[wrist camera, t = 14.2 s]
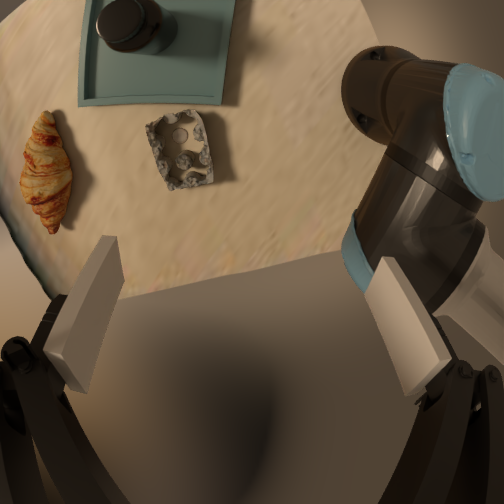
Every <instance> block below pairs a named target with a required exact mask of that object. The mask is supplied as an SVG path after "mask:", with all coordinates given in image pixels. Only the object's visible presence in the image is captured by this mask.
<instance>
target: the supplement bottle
mask: <svg viewBox="0 0 504 504" xmlns="http://www.w3.org/2000/svg"><path fill="white" fill-rule="evenodd" d="M96 31H97V33H98V35H99V36H100V38H102V39H103V40H104V41H105V43H106V45H107V46H108V47H109V48H111V49H112V50H114V51H117V52H120V53H129V54H139V55H153V54H157V53H160V52H162V51H164V50H165V49H167V48H168V47H169V46H170V45H171V44H172V43H173V41H174V40H175V38H176V35H177V32H178V24H177V21H176V19H175V17H174V16H173V15H172V14H171V13H170V12H169V11H168V10H166V9H165V8H164V7H162V6H161V5H159V4H158V3H157V2H155V1H154V0H115V1H112V2H111V3H109V4H107V6H105V7H104V8H103V9H102V10H101V12H100V14H99V15H98V18H97V21H96Z"/></svg>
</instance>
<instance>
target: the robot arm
mask: <svg viewBox="0 0 504 504" xmlns="http://www.w3.org/2000/svg"><path fill="white" fill-rule="evenodd" d="M341 95H342V101H343V105H344V108H345V111H346V113H347V115H348V117H349V119H350V121H351V122H352V123H353V125H354V126H355V127H356V128H357V129H358V130H359V131H360V132H361V133H363V134H364V135H366V136H367V137H369V138H370V139H372V140H374V141H376V142H378V143H381V144H384V145H388V147H387V149H386V151H385V153H384V155H383V157H382V160H381V162H380V164H379V166H378V168H377V170H376V172H375V174H374V176H373V178H372V180H371V182H370V184H369V186H368V188H367V190H366V192H365V194H364V196H363V198H362V200H361V202H360V204H359V206H358V208H357V209H355V210H354V212H353V214H352V217H351V222H350V225H349V227H348V229H347V231H346V233H345V235H344V237H343V240H342V246H341V252H342V256H343V259H344V262H345V263H344V264H345V266H346V269H347V271H348V273H349V275H350V276H351V278H352V279H353V281H354V282H355V283H356V285H357V286H358V287H359V288H360V290H361V291H362V292H363V293H364V296H365V298H366V300H367V302H368V305H369V307H370V309H371V312H372V314H373V316H374V318H375V320H376V323H377V325H378V328H379V330H380V332H381V335H382V337H383V340H384V342H385V344H386V347H387V349H388V352H389V354H390V357H391V360H392V362H393V365H394V367H395V369H396V372H397V375H398V378H399V381H400V383H401V386H402V389H403V391H404V394H405V396H409V395H413V394H417V393H419V392H420V391H421V389H423V388H424V387H426V390H427V392H426V393H424V394H423V395H422V396H421V397H420V398H419V399H418V400H417V401H416V402H415V405H417V404H418V403H419V402H420V401H421V400H422V401H421V404H420V405H419V410H418V413H417V417H416V419H415V422H414V425H413V428H412V431H411V433H410V436H409V438H408V441H407V443H406V446H405V448H404V451H403V453H402V455H401V458H400V460H399V462H398V465H397V467H396V469H395V471H394V473H393V475H392V477H391V479H390V481H389V483H388V485H387V487H386V489H385V491H384V493H383V495H382V497H381V499H380V501H379V502H378V504H504V389H503V382H502V376H501V373H500V372H499V370H498V369H497V368H496V367H495V366H493V365H488V366H486V367H485V369H483V370H482V371H477V370H473V368H472V367H471V365H470V364H468V363H467V362H466V361H464V360H459V359H458V358H457V356H456V354H455V352H454V350H453V348H452V346H451V344H450V342H449V340H448V338H447V336H445V333H444V331H443V330H442V327H441V325H440V324H439V322H438V320H437V319H436V318H435V316H441V315H449V316H450V317H451V318H452V319H453V320H454V321H456V322H457V323H458V324H459V325H460V326H461V327H462V328H464V329H465V330H466V331H467V332H468V333H469V334H470V335H472V336H473V337H474V338H475V339H476V340H477V341H478V342H479V343H480V344H482V345H483V346H484V347H485V348H486V349H487V350H488V351H489V352H490V353H491V354H492V355H493V356H495V358H497V359H498V360H499V361H500V362H501V363H502V364H503V365H504V260H503V259H502V258H501V257H500V256H499V255H497V254H496V253H495V252H494V251H493V250H492V249H491V247H490V241H489V234H488V228H487V227H486V226H485V225H484V224H482V223H481V222H480V221H479V220H478V219H476V218H475V216H476V214H477V212H478V210H479V208H480V207H481V205H482V203H483V201H491V202H496V201H499V200H502V199H504V79H503V78H501V77H500V76H498V75H497V74H495V73H492V72H490V71H487V70H484V69H481V68H478V67H475V66H474V65H471V64H466V63H464V64H458V63H450V62H443V61H434V60H422V59H420V58H418V57H417V56H415V55H413V54H412V53H410V52H409V51H406V50H404V49H401V48H398V47H394V46H375V47H371V48H367V49H365V50H363V51H361V52H360V53H358V54H357V55H356V56H355V57H354V58H353V59H352V60H351V61H350V63H349V64H348V66H347V68H346V70H345V72H344V75H343V79H342V86H341ZM123 283H124V276H123V270H122V265H121V259H120V253H119V247H118V241H117V236H106V235H102V237H101V238H100V240H99V242H98V243H97V245H96V247H95V248H94V250H93V252H92V253H91V255H90V257H89V258H88V260H87V262H86V264H85V265H84V267H83V269H82V271H81V272H80V274H79V276H78V278H77V280H76V281H75V283H74V285H73V287H72V289H71V291H70V293H69V295H62V294H59V295H58V296H57V297H56V298H55V299H53V300H52V301H51V303H50V305H49V307H48V308H47V310H46V314H45V315H44V316H43V318H42V321H41V322H40V324H39V327H38V328H37V330H36V333H35V335H34V337H33V339H32V341H31V343H30V344H29V342H28V340H26V339H25V338H24V337H19V336H16V337H13V338H11V339H9V340H8V341H7V342H6V343H5V344H4V345H3V347H2V350H1V359H2V360H3V361H0V504H49V502H48V499H47V496H46V493H45V490H44V486H43V483H42V479H41V476H40V472H39V468H38V464H37V460H36V455H35V450H34V446H33V440H34V442H35V444H36V447H37V449H38V451H39V454H40V456H41V458H42V460H43V462H44V464H45V466H46V469H47V471H48V472H49V475H50V477H51V479H52V480H53V482H54V484H55V486H56V488H57V490H58V491H59V493H60V495H61V497H62V498H63V500H64V502H65V503H66V504H130V502H129V501H128V500H127V498H126V497H125V496H124V495H123V493H122V492H121V490H120V489H119V488H118V486H117V485H116V483H115V482H114V480H113V479H112V478H111V476H110V475H109V473H108V472H107V470H106V469H105V467H104V465H103V464H102V462H101V461H100V459H99V457H98V456H97V454H96V452H95V451H94V449H93V447H92V445H91V444H90V442H89V440H88V438H87V437H86V435H85V433H84V431H83V429H82V427H81V425H80V423H79V421H78V419H77V417H76V415H75V413H74V411H73V409H72V407H71V405H70V403H69V401H68V398H67V396H66V394H65V392H64V391H63V390H64V386H65V383H66V384H67V385H68V387H69V388H70V389H71V390H73V391H77V392H81V393H85V394H87V393H88V389H89V385H90V381H91V378H92V374H93V371H94V368H95V364H96V361H97V358H98V354H99V351H100V348H101V345H102V341H103V339H104V335H105V332H106V330H107V326H108V324H109V321H110V318H111V315H112V312H113V310H114V307H115V304H116V302H117V299H118V296H119V294H120V291H121V288H122V286H123ZM480 403H481V408H480V409H479V410H478V411H477V410H476V406H477V405H478V404H480ZM32 437H33V440H32Z"/></svg>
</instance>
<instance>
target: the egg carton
mask: <svg viewBox="0 0 504 504" xmlns="http://www.w3.org/2000/svg"><path fill="white" fill-rule="evenodd" d="M182 112H186V114H187V115H188V116H190V117H193V118H196V119H197V121H198V124H197V125H196V127H195V128H194V130H193V134H194V137H195V140H197V141H204V147H203V148H202V150H201V152H200V157H199V160H200V162H201V163H202V164H203V165H206V166H209V169H208V170H207V175H206V176H201V175H199V174H198V173H197V172H194V171H191V172H189V173H187V174H186V177H185V179H184V181H182V182H179V181H178V180H177V179H176V178H174V177H170V176H169V175H168V173H169V171H170V169H171V167H172V161H171V159H170V158H169V157H166V156H163V154H162V152H161V150H162V149H163V148H164V146H165V143H166V142H165V139H164V137H163V136H161V135H156V133H155V130H154V129H155V127H156V126H157V125H158V123H159V121H160V120H161V119H163V120H164V121H165V122H166V123H168V124H173V123H176V122H177V121H178V120H179V119H180V118H181V116H182ZM182 112H179V113H177V114H175V115H174V114H173V113H170V114H166V115H164V117H160V118H159V119H157V120H156V121H154V122H151V123H148V124H146V126H145V128H146V133H147V136H148V141H149V143H150V146H151V147H152V151H153V155H154V157H155V160H156V164H157V167H158V170H159V172H160V174H161V176H162V177H163V179H164V181H165V182H166V184H167V187H168V189H169V191H173V190H175V189H183V188H187V187H193V186H199V185H202V184H209V183H213V162H212V160H211V156H210V153H209V146H208V141H207V135H206V131H205V128H204V124H203V121H202V119H201V117H200V115H198V113H197V112H196V111H195V109H191V110H189V109H188V110H183V111H182ZM172 138H173V140H174V141H175V142H176V143H184V142H185V141H186V140H187V138H188V133H187V131H186V130H185V129H183V128H177V129H175V130H174V131H173V134H172ZM194 159H195V156H194V154H193V153H192V152H191V151H189V150H184V151H182V152H181V153H180V154H179V156H178V157H177V158H176V159H175V161H176V163H177V166H178V168H180V169H182V170H188V169H189V168H191V166H192V165H193V162H194Z"/></svg>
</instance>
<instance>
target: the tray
mask: <svg viewBox="0 0 504 504" xmlns="http://www.w3.org/2000/svg"><path fill="white" fill-rule="evenodd" d="M112 1H115V0H86V4H85V10H84V16H83V24H82V32H81V41H80V53H79V69H78V107H87V106H98V105H111V104H129V103H193V104H212V105H221V104H222V97H223V89H224V80H225V72H226V64H227V57H228V49H229V42H230V35H231V28H232V22H233V15H234V9H235V3H236V0H154V1H155V2H157V3H158V4H159V5H161V6H162V7H164V8H165V9H166V10H168V11H169V12H170V13H171V14H172V15H173V16H174V17H175V19H176V21H177V24H178V32H177V35H176V38H175V40H174V41H173V43H172V44H171V45H170V46H169V47H168V48H167V49H165V50H164V51H162V52H160V53H157V54H153V55H139V54H129V53H120V52H117V51H114V50H112V49H111V48H109V47H108V46H107V45H106V43H105V41H104V40H103V39H102V38H100V36H99V35H98V33H97V31H96V21H97V18H98V15H99V14H100V12H101V10H102V9H103V8H104V7H105V6H107V4H109V3H111V2H112Z"/></svg>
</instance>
